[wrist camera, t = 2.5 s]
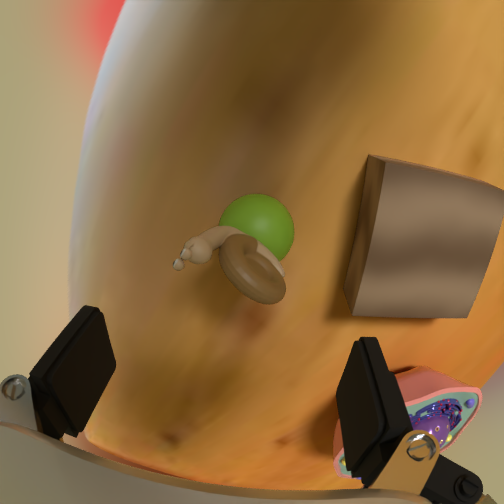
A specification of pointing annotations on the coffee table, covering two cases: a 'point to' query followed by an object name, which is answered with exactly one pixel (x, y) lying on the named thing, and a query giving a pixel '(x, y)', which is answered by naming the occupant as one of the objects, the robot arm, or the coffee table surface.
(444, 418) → the cell model
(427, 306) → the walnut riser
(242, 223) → the snail figurine
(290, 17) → the coffee table surface
